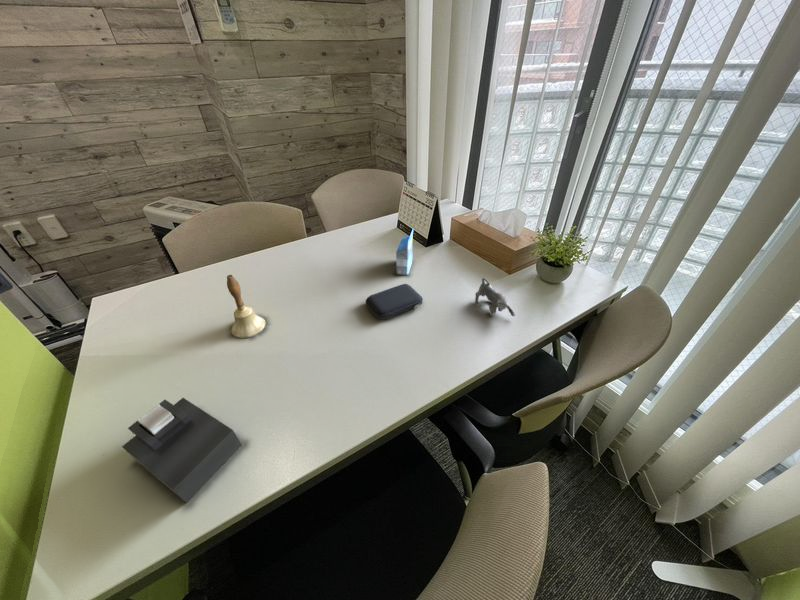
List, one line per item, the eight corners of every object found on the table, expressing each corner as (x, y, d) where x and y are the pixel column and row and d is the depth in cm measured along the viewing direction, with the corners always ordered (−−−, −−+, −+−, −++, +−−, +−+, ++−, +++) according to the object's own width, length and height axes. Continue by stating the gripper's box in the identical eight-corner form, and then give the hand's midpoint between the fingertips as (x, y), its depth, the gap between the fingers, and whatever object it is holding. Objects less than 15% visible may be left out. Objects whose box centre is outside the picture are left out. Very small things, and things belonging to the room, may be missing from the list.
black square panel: (134, 459, 58) (113, 439, 54) (191, 411, 65) (176, 390, 61) (186, 503, 52) (167, 484, 48) (242, 445, 60) (229, 424, 56)
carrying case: (381, 326, 85) (427, 307, 91) (380, 317, 83) (428, 299, 89) (363, 304, 92) (407, 288, 98) (362, 295, 90) (407, 279, 96)
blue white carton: (401, 259, 111) (401, 226, 103) (412, 261, 110) (413, 227, 102) (396, 274, 104) (395, 239, 96) (408, 275, 103) (408, 240, 95)
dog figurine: (470, 300, 93) (474, 278, 89) (486, 294, 95) (490, 273, 91) (498, 325, 85) (503, 303, 80) (515, 319, 87) (521, 297, 82)
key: (142, 426, 56) (137, 420, 55) (162, 409, 58) (158, 404, 57) (154, 435, 54) (149, 430, 53) (175, 418, 57) (170, 412, 56)
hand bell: (242, 315, 88) (222, 265, 78) (270, 318, 87) (254, 268, 78) (225, 336, 82) (201, 285, 72) (256, 339, 81) (235, 288, 71)
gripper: (-204, 156, 33) (-55, 291, 44) (-177, 175, 28) (-16, 322, 39) (-92, 140, 38) (16, 265, 49) (-53, 154, 33) (59, 289, 44)
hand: (2, 290), depth 44 cm, fingers closed
